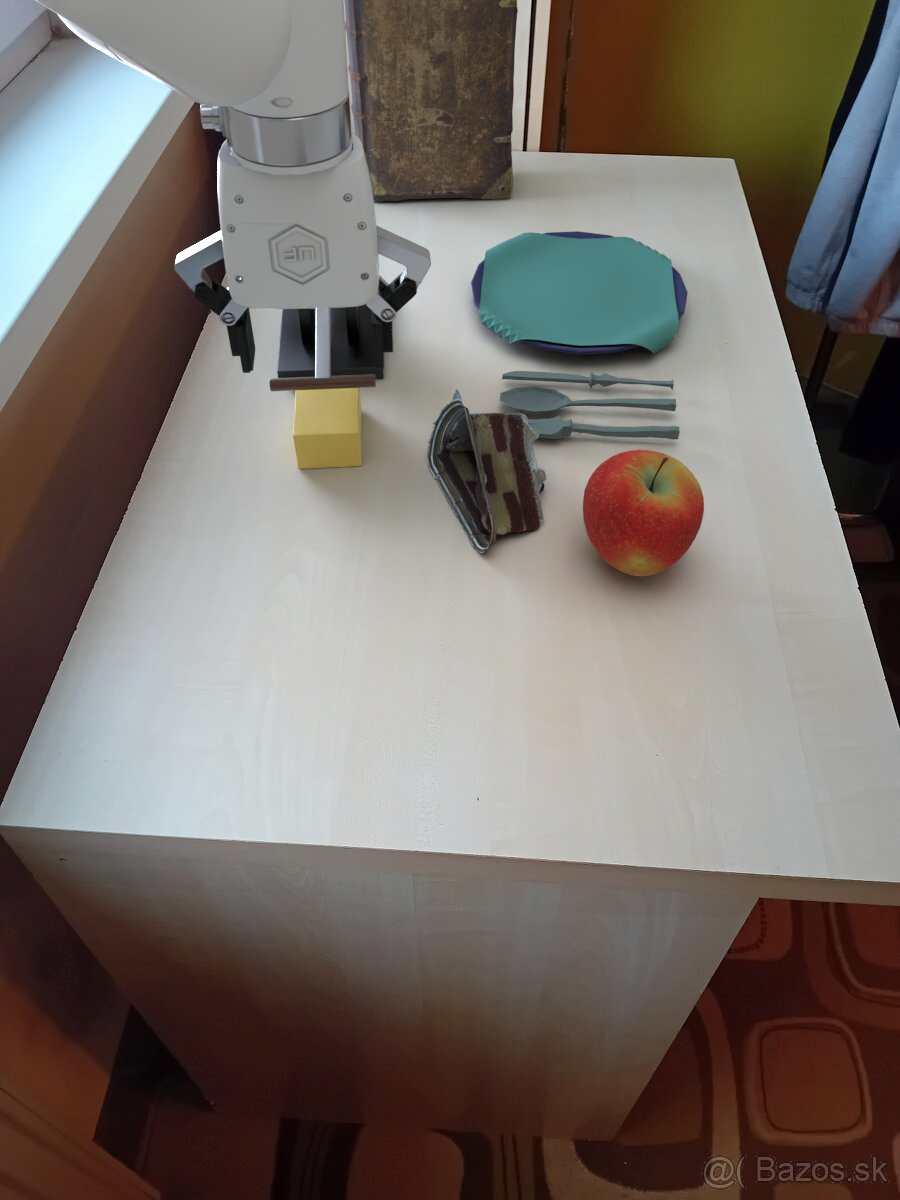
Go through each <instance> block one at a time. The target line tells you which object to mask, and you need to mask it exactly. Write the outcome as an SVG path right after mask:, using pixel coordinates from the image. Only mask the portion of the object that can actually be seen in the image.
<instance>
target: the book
mask: <svg viewBox="0 0 900 1200" xmlns="http://www.w3.org/2000/svg"><path fill="white" fill-rule="evenodd" d="M343 1H344V15H345V34H346V42H347V52H348V66H347V70H348V74H349V77H350V87H351V88H350V89H351V101H352V103H351V105H350V109H351V113H352V115H353V125H354V126H353V127H354V134H355V135H356V136H357V137H358V138H359V139H360V140H361V143H362V146H363V150H364V153H365V157H366V161H367V165H368V170H369V175H370V180H371V185H372V192H373V199H374V202H376V201H378V202H387V201H391V202H392V201H393V202H397V201H398V202H399V201H404V200H405V201H406V200H422V199H423V200H424V199H425V200H427V199H457V198H463V199H464V198H465V199H482V200H488V199H489V200H491V199H506V198H511V196H512V195H513V193H514V172H513V155H512V149H513V148H512V147H513V145H512V144H513V143H512V134H513V131H514V125H513V124H514V123H513V122H514V120H513V117H514V116H513V111H514V110H513V109H514V97H515V96H514V95H515V83H514V82H515V80H514V79H515V54H516V53H515V52H516V36H517V21H518V11H519V9H518V0H343Z"/></svg>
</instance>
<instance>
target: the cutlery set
mask: <svg viewBox="0 0 900 1200" xmlns="http://www.w3.org/2000/svg"><path fill="white" fill-rule="evenodd" d="M470 285H471V290H472V291H471V292H472V296H473V297H472V298H473V304H474V306H475V307H476V308H477V309H478V311H479V318H480V319H479V320H480V322H481V324H482V326H484V327H485V328H486V329H487V330H490V331H492V332H493V333H494V334H495V335H498V336H499V337H500V338H501V339H503V340H505V341H506V342H507V343H508V344H509V345H510V344H512V343H514V342H517V341H518V342H521V343H524V344H526V345H530V346H532V347H535V348H537V349H540V350H545V351H551V352H558V353H565V354H572V355H593V354H594V355H596V354H597V355H599V354H616V353H619V352H623V351H627V350H632V349H635V348H638V347H643V348H646V349H647V350H649V351H651V352H652V354H656V353H657V352H659V351H661V350H662V349H664V348H665V347H667V346H668V345H669V344H670V343H671V342H672V341H673V340H675V338H676V335H677V334H678V333H677V332H678V330H679V324H680V319H681V318H682V316H683V315H684V314H685V312H686V305H687V298H688V290H687V288H686V285H685V283H684V281H683V278H682V276H681V273H680V272H679V271H678V270H677V269H676V268H675V267H674V266H673V263H672V259H671V258H668V256H666V255H665V254H664V253H660V252H659V251H658V250H656V249H652V247H650V246H649V245H645V244H644V243H642V242H641V240H639V241H638V240H636V239H634V238H633V237H629V236H628V237H627V236H614V235H611V234H603V233H595V232H588V231H587V232H586V231H579V230H578V231H576V230H575V231H555V232H554V231H553V232H543V233H540V232H532V231H531V232H523V233H520V234H518V235H516V236H514V237H512V238H508V239H506V240H504V241H502V242H500V243H498V244H497V245H494V246H493V247H491V248H489V249H487V250H485V253H484V258H483V260H482V261H480V263H479V264H478V265H477V268H476V270H475V272H474V274H473V277H472V279H471V282H470ZM501 380H508V381H510V380H512V381H529V382H530V381H531V382H546V383H547V382H548V383H549V382H550V383H569V384H587V385H588V387H589V390H592V389H593V387H594V386H596V385H600V386H602V387H604V388H606V387H610V386H614V385H618V384H622V385H643V386H644V385H647V386H653V387H654V386H655V387H663V388H670V389H671V391H673V390H674V386H675V381H674V379H671V380H645V379H638V378H632V377H631V378H630V377H619V376H618V377H617V376H615V375H612V374H609V373H606V372H603V373H601V374H595V373H594V372H593V371H592V370H591V371H590V373H589V375H583V374H572V373H566V372H553V371H533V370H513V371H508V372H505V373H503V374H502V376H501ZM499 402H500V403H503V404H505V405H507V406H509V407H511V408H512V409H514V410H515V411H518V412H522V413H527V414H534V415H542V414H552V413H554V412H557V411H559V410H562V409H563V408H568V407H606V408H607V407H611V408H612V407H619V408H633V409H634V408H635V409H636V408H637V409H649V410H658V411H659V410H660V411H669V412H676V408H677V407H678V405H677V398H631V397H630V398H629V397H628V398H624V397H623V398H621V397H620V398H619V397H618V398H617V397H616V398H604V399H603V398H600V399H593V398H592V399H576V400H575V399H574V400H572V399H571V398H570V397H569V396H568V395H566V394H564V393H562V392H560V391H558V390H557V389H555V388H548V387H542V386H537V385H533V386H532V385H531V386H530V385H529V386H516V387H512V388H510V389H507V390H505V391H502V392H500V393H499ZM528 425H529V426H530V427H531V428H534V429H536V430H537V431H538V432H539V437H538V438H541V439H547V440H548V439H549V440H559V439H561V438H566V437H571V435H572V433H578V434H579V433H580V434H585V435H586V434H587V435H593V436H600V437H611V438H636V439H637V438H638V439H639V438H653V439H654V438H655V439H667V440H674V441H675V440H679V437H680V433H681V430H680V426H677V425H669V426H668V425H665V426H664V425H641V426H640V425H638V426H614V425H613V426H612V425H609V426H608V425H607V426H606V425H605V426H604V425H597V424H587V423H578V422H577V423H576V422H573V420H572V418H569V419H566V420H563V419H562V418H561V416H559V415H558V416H555V417H550V418H534V419H533V418H532V419H528Z"/></svg>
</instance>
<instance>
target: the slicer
mask: <svg viewBox="0 0 900 1200" xmlns="http://www.w3.org/2000/svg"><path fill="white" fill-rule="evenodd" d="M315 344H316V308H309V309H281V322H280V332H279V345H278V358H277V369H276V373H277V378H295V377H315ZM384 370H385V368H384V369H377V368H375V366H374V347H373V327H372V310H371V309H370V308H369V307H368V306H367V305H366V304H365V305H362V306H357V307H343V308H331V376H344V375H369V374H375V379H376V380H380V379H384V378H385V373H384V372H385V371H384Z"/></svg>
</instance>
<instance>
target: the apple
mask: <svg viewBox="0 0 900 1200" xmlns="http://www.w3.org/2000/svg"><path fill="white" fill-rule="evenodd" d="M704 513H705V498H704V494H703V489H702V487H701V484H700V482H699V480H698V478H696V476H695V475H694V474H693V472H692V471H691V470H690V469H689V468H688V467H687V466H686V465H685V464H684V463H683V462H681V461H680V460H678V459H676V458H675V457H673V456H671V455H668V454H666V453H664V452H660V451H656V450H651V449H650V450H649V449H633V450H627V451H622V452H619V453H617V454H614V455H612V456H610V457H609V458H607V459H605V460H604V461H603V462H602V463H600V465H598V466H597V467H596V468H595V470H593V472H592V474H591V475H590V477H589V478H588V480H587V483H586V485H585V488H584V492H583V498H582V516H583V524H584V527H585V530H586V533H587V536H588V538H589V541H590V543H591V545H592V546H593V548H594V550H595V551H596V552H597V554H598V555H599V556H600V558H601V559H602V560H603V561H605V562H606V564H608V565H609V566H611V567H612V568H613V569H615V570H617V571H619V572H621V573H623V574H626V575H628V576H629V575H630V576H634V577H648V576H653V575H657V574H659V573H661V572H663V571H665V570H667V569H669V568H671V567H672V566H673V565H675V563H677V562H678V561H680V559H681V558H683V556H684V555H685V554H686V553H687V552H688V551H689V549H690V548H691V546H692V545H693V543H694V542H695V540H696V538H697V536H698V533H699V531H700V529H701V526H702V522H703V518H704Z"/></svg>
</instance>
